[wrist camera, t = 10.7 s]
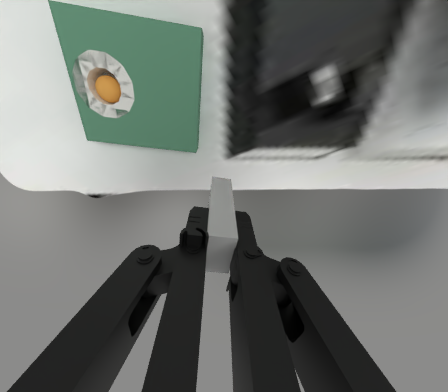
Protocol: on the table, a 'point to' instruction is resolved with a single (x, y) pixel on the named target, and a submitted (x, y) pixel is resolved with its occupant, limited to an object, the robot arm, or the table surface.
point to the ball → (108, 88)
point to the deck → (133, 76)
